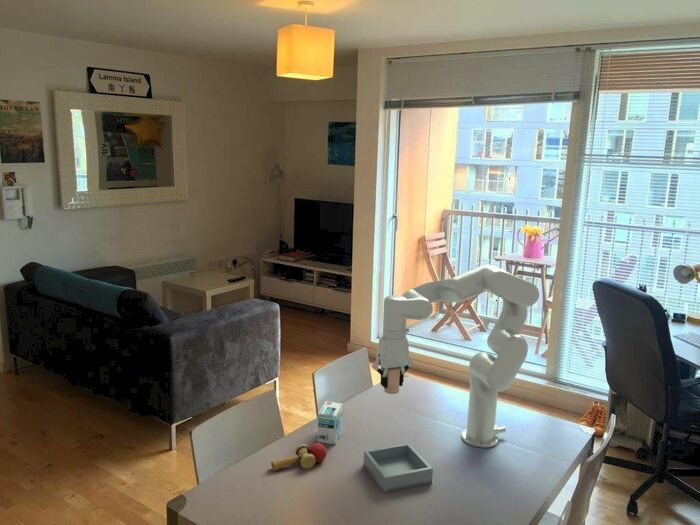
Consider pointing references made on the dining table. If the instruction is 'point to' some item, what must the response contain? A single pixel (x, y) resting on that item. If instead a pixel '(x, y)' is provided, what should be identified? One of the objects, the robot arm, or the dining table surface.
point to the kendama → (303, 456)
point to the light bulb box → (330, 422)
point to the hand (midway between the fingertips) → (391, 385)
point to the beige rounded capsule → (393, 380)
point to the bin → (397, 467)
